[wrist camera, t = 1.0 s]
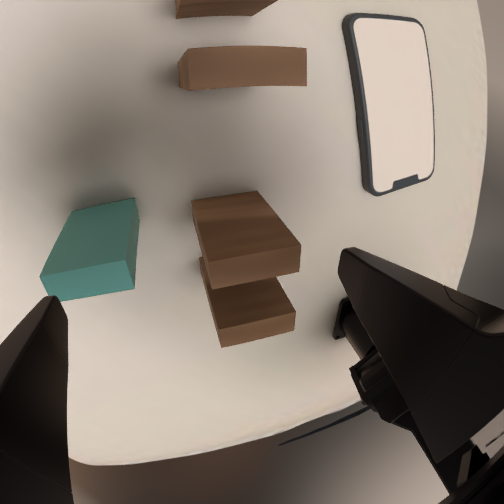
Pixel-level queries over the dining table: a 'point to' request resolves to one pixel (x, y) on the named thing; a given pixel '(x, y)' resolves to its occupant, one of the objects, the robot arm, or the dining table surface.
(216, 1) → the domino
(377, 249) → the dining table surface
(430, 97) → the smartphone with white screen
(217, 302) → the brown wooden block
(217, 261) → the domino
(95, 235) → the domino
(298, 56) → the domino
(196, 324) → the dining table surface
